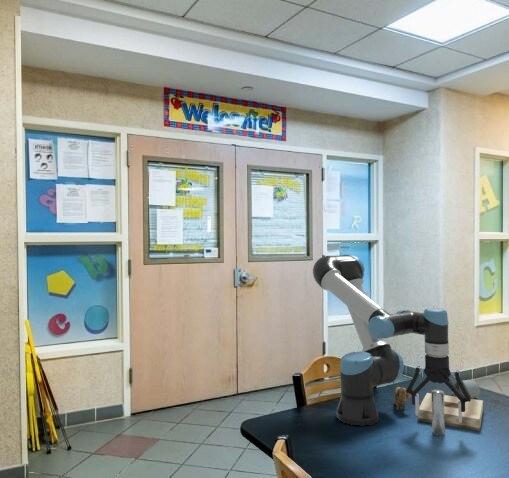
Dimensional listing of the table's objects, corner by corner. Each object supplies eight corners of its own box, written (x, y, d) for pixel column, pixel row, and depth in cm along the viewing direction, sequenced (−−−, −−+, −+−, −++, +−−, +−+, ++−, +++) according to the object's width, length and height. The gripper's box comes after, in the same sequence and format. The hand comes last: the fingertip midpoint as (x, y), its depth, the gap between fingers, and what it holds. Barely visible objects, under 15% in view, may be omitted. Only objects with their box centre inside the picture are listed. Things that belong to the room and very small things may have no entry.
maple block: (418, 420, 163) (417, 409, 163) (427, 402, 181) (427, 392, 181) (479, 431, 153) (479, 419, 153) (483, 411, 171) (482, 400, 171)
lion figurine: (412, 413, 170) (412, 389, 170) (398, 413, 170) (397, 389, 170) (401, 399, 185) (401, 377, 185) (388, 399, 185) (388, 378, 185)
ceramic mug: (482, 399, 183) (481, 380, 183) (467, 403, 179) (466, 383, 179) (460, 392, 192) (460, 374, 192) (446, 395, 189) (445, 377, 189)
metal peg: (431, 434, 152) (430, 392, 152) (433, 429, 155) (432, 389, 155) (444, 436, 150) (443, 394, 150) (445, 432, 153) (444, 390, 153)
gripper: (396, 353, 155) (398, 415, 155) (477, 361, 143) (478, 428, 143) (401, 348, 162) (402, 407, 162) (478, 356, 150) (480, 420, 149)
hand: (438, 417), depth 152 cm, fingers open, 13 cm apart
